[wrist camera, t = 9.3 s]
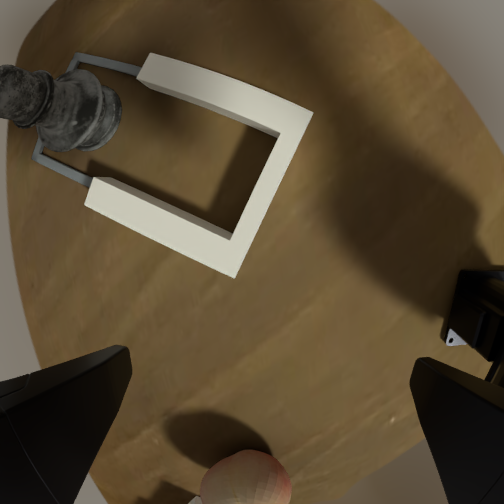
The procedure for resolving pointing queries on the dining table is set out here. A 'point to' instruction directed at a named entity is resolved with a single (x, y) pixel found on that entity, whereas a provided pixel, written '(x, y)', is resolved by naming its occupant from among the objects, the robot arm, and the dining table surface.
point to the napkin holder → (196, 500)
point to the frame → (73, 65)
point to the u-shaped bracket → (183, 223)
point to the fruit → (246, 480)
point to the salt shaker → (60, 107)
